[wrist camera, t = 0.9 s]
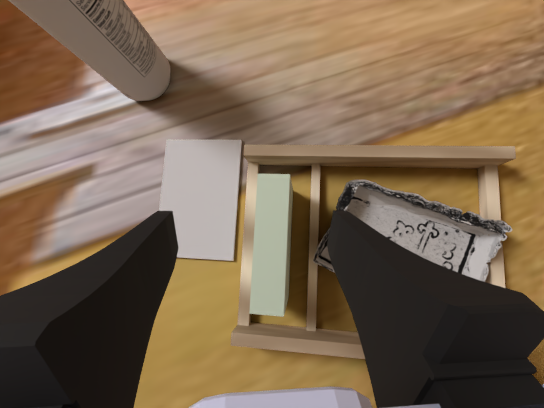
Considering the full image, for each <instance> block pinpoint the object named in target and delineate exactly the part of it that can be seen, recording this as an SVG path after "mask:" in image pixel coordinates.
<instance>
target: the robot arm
mask: <svg viewBox="0 0 544 408" xmlns="http://www.w3.org/2000/svg"><path fill="white" fill-rule="evenodd" d="M327 248H328V252H329V256H330V260H331V264H332V266H333V269H334V271H335V274H336V276H337V279H338V281H339V283H340V286H341V288H342V290H343V293H344V295H345V297H346V300H347V302H348V304H349V307H350V310H351V312H352V315H353V318H354V321H355V325H356V328H357V331H358V335H359V338H360V342H361V345H362V349H363V352H364V356H365V360H366V364H367V368H368V372H369V376H370V380H371V384H372V388H373V392H374V397H375V401H376V406H377V408H544V384H543V385H541V384H540V383H539V382H538V381H537V379H536V378H535V377H534V376H533V375H532V374H535V373H536V367H535V366H534V365H533V364H532V363H531V362H530V361H529V360H528V359H527V357H528V356H529V355H530V354H531V352H532V351H533V350H534V349H535V348H536V347H537V346H538V344H539V343H540V342H541V341H542V340H543V339H544V311H543V310H541V309H540V308H539V307H538V306H537V305H536V304H535V303H534V302H532V301H531V300H530V299H529V298H528V297H527V296H526V295H524V294H523V293H521V292H517V291H514V290H510V289H507V288H503V287H500V286H497V285H493V284H490V283H486V282H483V281H480V280H477V279H475V278H472V277H469V276H466V275H463V274H460V273H458V272H455V271H453V270H450V269H448V268H445V267H443V266H441V265H438V264H436V263H434V262H431V261H429V260H427V259H425V258H423V257H421V256H419V255H417V254H415V253H413V252H411V251H409V250H407V249H405V248H404V247H402V246H400V245H398V244H397V243H395V242H393V241H392V240H390V239H389V238H387V237H385V236H384V235H382V234H381V233H379V232H378V231H376V230H375V229H373V228H372V227H370V226H369V225H368V224H366V223H365V222H363V221H362V220H360V219H359V218H357V217H356V216H355V215H353V214H352V213H350V212H348V211H346V210H333V215H332V221H331V226H330V232H329V237H328V242H327ZM177 253H178V241H177V235H176V229H175V223H174V217H173V211H157V212H156V213H154V214H153V215H151V216H150V217H148V218H147V219H146V220H144V221H143V222H142V223H140V224H139V225H137V226H136V227H135V228H133V229H132V230H130V231H129V232H128V233H126V234H125V235H123V236H122V237H120V238H119V239H117V240H116V241H114V242H113V243H111V244H110V245H108V246H107V247H105V248H103V249H102V250H100V251H98V252H97V253H95V254H93V255H92V256H90V257H88V258H86V259H84V260H82V261H80V262H79V263H77V264H75V265H73V266H70V267H68V268H66V269H64V270H62V271H60V272H58V273H55V274H53V275H51V276H49V277H47V278H45V279H42V280H40V281H37V282H35V283H33V284H30V285H28V286H25V287H23V288H20V289H17V290H15V291H12V292H9V293H7V294H4V295H1V296H0V408H133V407H134V402H135V398H136V393H137V389H138V384H139V380H140V375H141V371H142V367H143V363H144V358H145V354H146V350H147V346H148V342H149V339H150V335H151V331H152V327H153V324H154V320H155V317H156V314H157V312H158V309H159V306H160V304H161V301H162V299H163V296H164V293H165V291H166V288H167V286H168V283H169V280H170V278H171V275H172V272H173V270H174V266H175V262H176V258H177ZM189 408H372V406H371V403H370V400H369V399H368V398H367V397H365V396H363V395H362V394H360V393H358V392H357V391H355V390H353V389H352V388H342V387H317V388H302V389H287V390H271V391H256V392H240V393H226V394H221V395H216V396H211V397H206V398H203V399H201V400H200V401H198V402H197V403H195V404H193V405H192V406H190V407H189Z"/></svg>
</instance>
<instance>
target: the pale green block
mask: <svg viewBox="0 0 544 408" xmlns="http://www.w3.org/2000/svg"><path fill="white" fill-rule="evenodd" d="M292 205H293V188H292V183H291V178H290V174H258V177H257V194H256V210H255V227H254V244H253V261H252V278H251V295H250V311H249V314H260V315H271V316H283V317H284V314H285V310H286V306H287V302H288V298H289V279H290V254H291V230H292Z"/></svg>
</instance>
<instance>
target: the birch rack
mask: <svg viewBox="0 0 544 408" xmlns="http://www.w3.org/2000/svg"><path fill="white" fill-rule="evenodd" d="M244 157H245V158H246V160H247V161H248V172H247V187H246V203H245V218H244V234H243V249H242V265H241V280H240V296H239V311H238V325H237V326H236V328H235V329H234V330H233V331H232V334H231V346H241V347H251V348H261V349H271V350H280V351H290V352H300V353H310V354H319V355H329V356H339V357H349V358H358V359H365V356H364V352H363V349H362V345H361V342H360V338H359V335H358V332H350V331H339V330H328V329H317V328H316V306H317V269H318V264H315V263H314V262H313V258H314V254H315V253H316V251H317V247H318V232H319V196H320V166H351V167H412V168H473V169H478V187H479V206H480V216H481V217H482V218H484V219H489V220H490V219H494V220H501V212H500V196H499V181H498V165H501V164H503V163H506V162H508V161H511V160H513V159H516V156H515V146H378V145H244ZM260 165H290V166H312V167H311V199H310V230H309V262H308V293H307V325H306V327H295V326H284V325H273V324H262V323H251V314H249V311H250V295H251V278H252V261H253V244H254V227H255V210H256V194H257V177H258V174H259V173H260ZM488 235H489V234H488ZM500 244H501V245H502V246H501V247H500V248H499V249H498V252H497V254H496V256H495V257H494V258H491V261H490V262H488V263H487V264H488V269H489V271H488V275H487V277H486V280H485V282H486V283H490V284H493V285H497V286H500V287H503V288H505V274H504V259H503V243H502V240H501V241H500ZM317 259H318V256H317ZM530 362H531V361H530Z"/></svg>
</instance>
